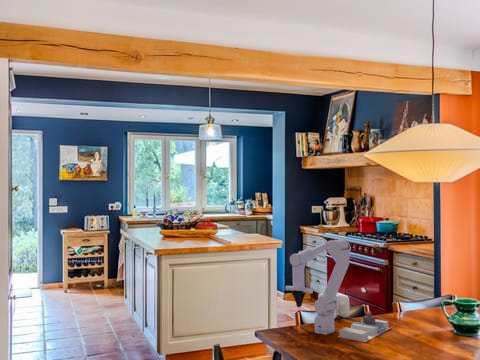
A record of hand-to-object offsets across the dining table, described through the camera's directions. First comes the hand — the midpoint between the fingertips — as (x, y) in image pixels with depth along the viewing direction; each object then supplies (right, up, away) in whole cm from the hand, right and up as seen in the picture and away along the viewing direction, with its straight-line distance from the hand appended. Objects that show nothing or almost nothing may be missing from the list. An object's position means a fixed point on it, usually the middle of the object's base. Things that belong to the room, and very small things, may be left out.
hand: (299, 306), depth 233 cm
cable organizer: (+20, -10, +17) cm, 28 cm away
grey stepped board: (+28, -8, -16) cm, 33 cm away
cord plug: (+31, -7, -12) cm, 34 cm away
